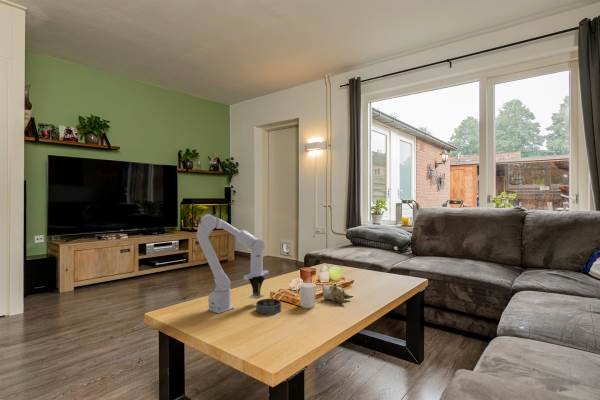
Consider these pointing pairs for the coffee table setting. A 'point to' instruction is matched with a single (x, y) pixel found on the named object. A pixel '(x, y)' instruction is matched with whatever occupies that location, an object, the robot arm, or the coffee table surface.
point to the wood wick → (257, 295)
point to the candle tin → (268, 306)
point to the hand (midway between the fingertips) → (256, 292)
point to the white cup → (307, 295)
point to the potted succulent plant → (335, 293)
